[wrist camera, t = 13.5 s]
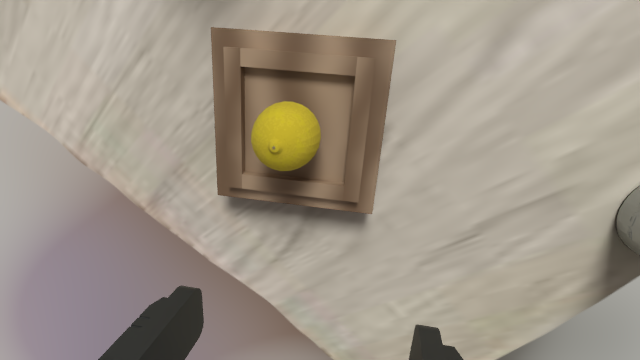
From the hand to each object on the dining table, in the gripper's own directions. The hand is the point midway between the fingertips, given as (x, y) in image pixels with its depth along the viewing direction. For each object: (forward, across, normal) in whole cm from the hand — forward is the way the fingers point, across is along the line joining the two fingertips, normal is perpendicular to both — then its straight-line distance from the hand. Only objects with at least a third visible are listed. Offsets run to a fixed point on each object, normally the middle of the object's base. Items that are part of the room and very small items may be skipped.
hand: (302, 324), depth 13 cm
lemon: (+21, +5, -3) cm, 22 cm away
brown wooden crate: (+25, +5, -3) cm, 26 cm away
